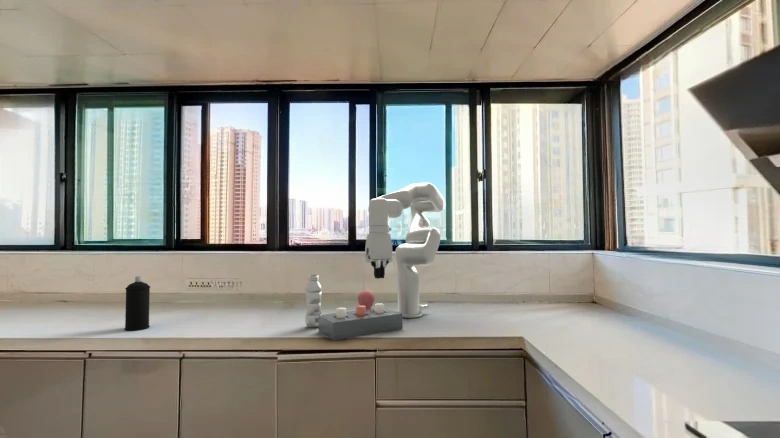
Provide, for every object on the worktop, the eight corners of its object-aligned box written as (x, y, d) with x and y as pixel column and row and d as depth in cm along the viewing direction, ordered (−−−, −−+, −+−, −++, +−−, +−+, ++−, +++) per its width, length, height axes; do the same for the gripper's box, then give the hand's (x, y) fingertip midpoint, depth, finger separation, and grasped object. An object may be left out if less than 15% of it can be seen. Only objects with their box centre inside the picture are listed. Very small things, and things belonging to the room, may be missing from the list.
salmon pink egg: (363, 320, 146) (362, 305, 146) (367, 322, 143) (367, 306, 143) (354, 322, 144) (354, 306, 145) (358, 324, 141) (358, 307, 142)
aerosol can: (154, 327, 151) (155, 275, 151) (132, 332, 143) (134, 278, 144) (141, 325, 154) (142, 275, 155) (119, 329, 147) (120, 277, 147)
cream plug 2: (381, 318, 150) (381, 303, 151) (385, 320, 147) (385, 304, 148) (373, 319, 149) (373, 303, 149) (377, 321, 145) (377, 305, 146)
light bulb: (354, 319, 162) (354, 291, 162) (362, 316, 169) (362, 288, 169) (370, 321, 159) (370, 291, 160) (377, 317, 166) (377, 289, 166)
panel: (383, 322, 157) (383, 307, 157) (402, 329, 145) (402, 313, 145) (318, 331, 142) (318, 315, 143) (333, 340, 130) (333, 322, 131)
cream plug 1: (343, 323, 142) (343, 307, 142) (347, 325, 139) (347, 308, 139) (334, 324, 140) (334, 308, 141) (338, 326, 137) (338, 309, 137)
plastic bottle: (318, 329, 146) (318, 276, 147) (302, 328, 147) (302, 276, 148) (324, 325, 152) (325, 274, 153) (308, 324, 154) (309, 274, 154)
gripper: (391, 230, 156) (391, 276, 156) (356, 230, 148) (357, 278, 148) (401, 230, 150) (401, 277, 149) (365, 230, 142) (366, 280, 141)
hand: (379, 277), depth 149 cm, fingers closed
